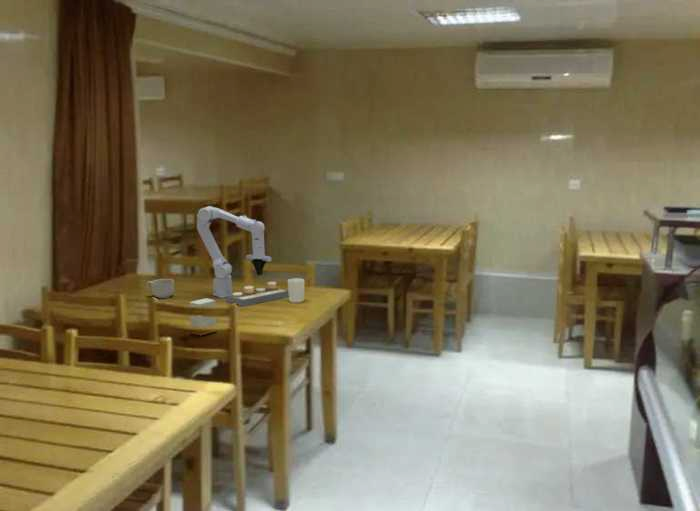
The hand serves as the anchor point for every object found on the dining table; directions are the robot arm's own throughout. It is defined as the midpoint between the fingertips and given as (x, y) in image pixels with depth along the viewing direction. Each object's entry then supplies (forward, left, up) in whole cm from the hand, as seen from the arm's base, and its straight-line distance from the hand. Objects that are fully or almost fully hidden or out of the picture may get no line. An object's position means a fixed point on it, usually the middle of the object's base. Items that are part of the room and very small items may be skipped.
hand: (259, 274), depth 320 cm
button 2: (+3, -8, -8) cm, 12 cm away
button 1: (+3, -15, -10) cm, 18 cm away
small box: (+37, -52, -11) cm, 65 cm away
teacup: (-34, -35, -11) cm, 50 cm away
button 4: (+3, +5, -8) cm, 10 cm away
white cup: (+21, +6, -11) cm, 24 cm away
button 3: (+3, -2, -10) cm, 11 cm away
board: (+5, -5, -10) cm, 13 cm away
